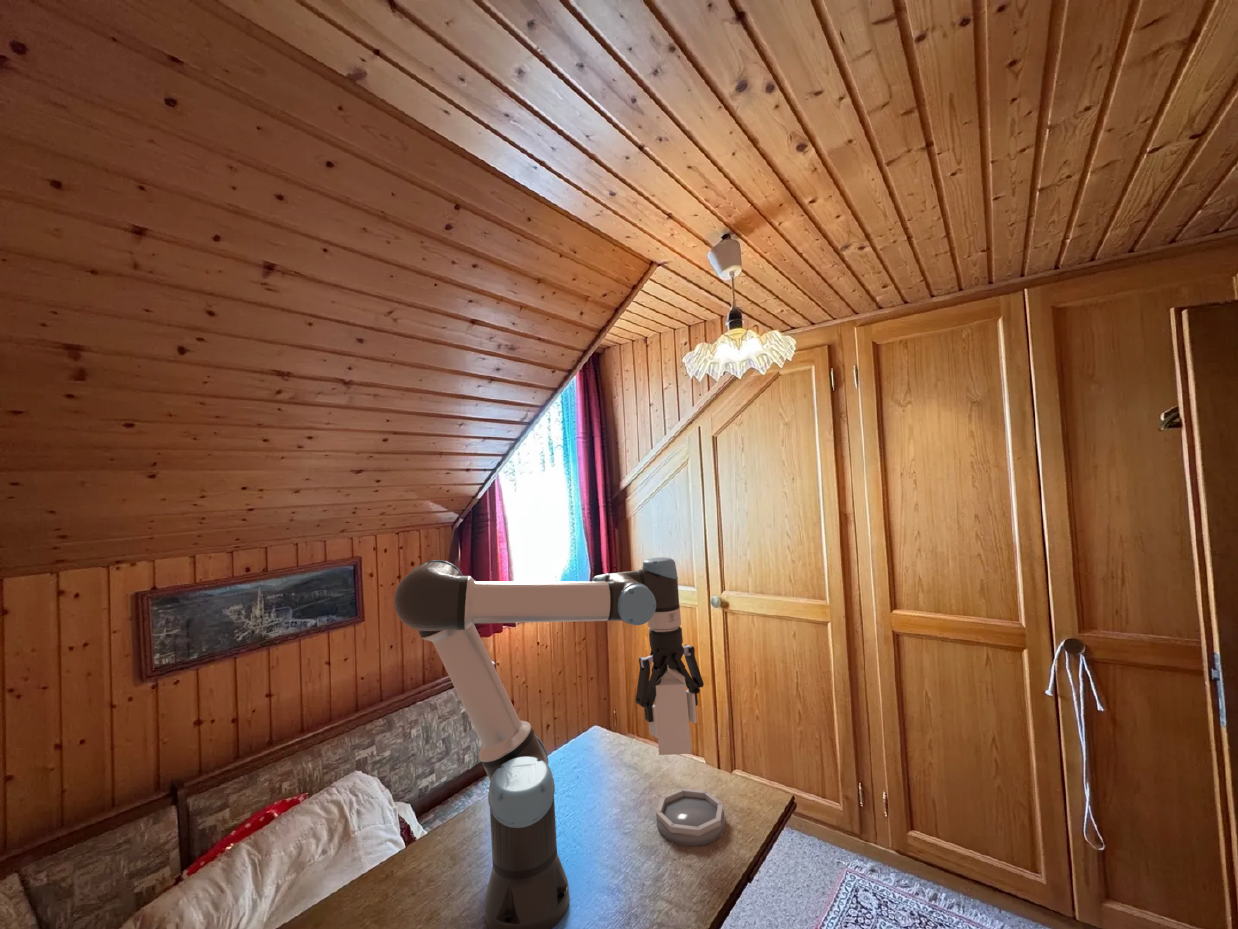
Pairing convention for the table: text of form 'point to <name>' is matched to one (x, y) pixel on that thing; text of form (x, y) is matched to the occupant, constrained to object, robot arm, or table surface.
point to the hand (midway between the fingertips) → (673, 728)
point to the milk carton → (672, 714)
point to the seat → (690, 817)
